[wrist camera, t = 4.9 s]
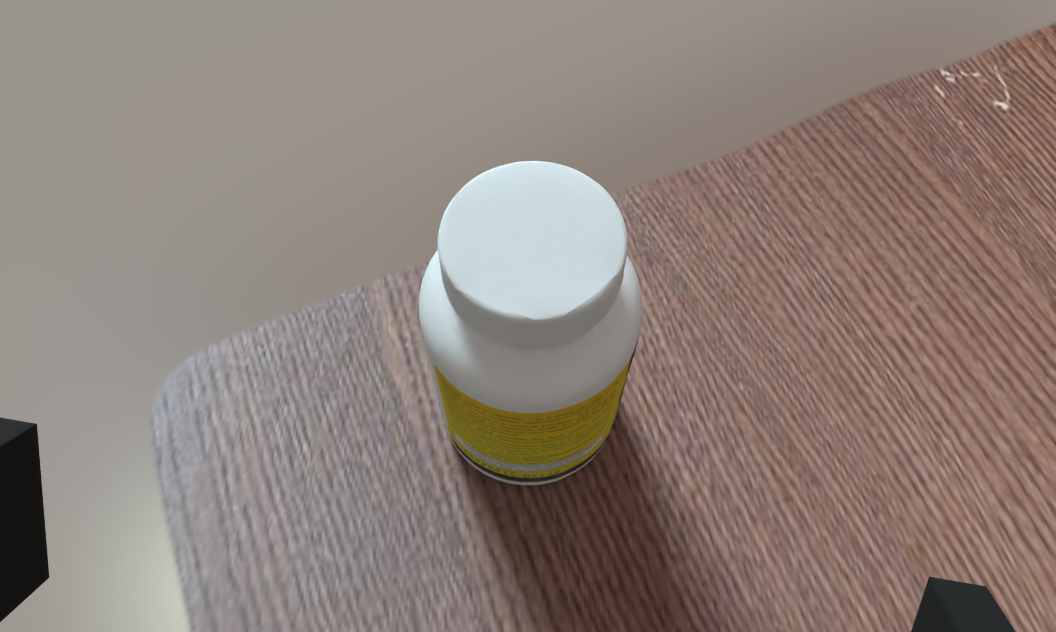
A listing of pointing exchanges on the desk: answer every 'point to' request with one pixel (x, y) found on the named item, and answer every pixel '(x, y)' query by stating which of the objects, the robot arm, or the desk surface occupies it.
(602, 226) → the supplement bottle
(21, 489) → the robot arm
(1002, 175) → the desk surface
